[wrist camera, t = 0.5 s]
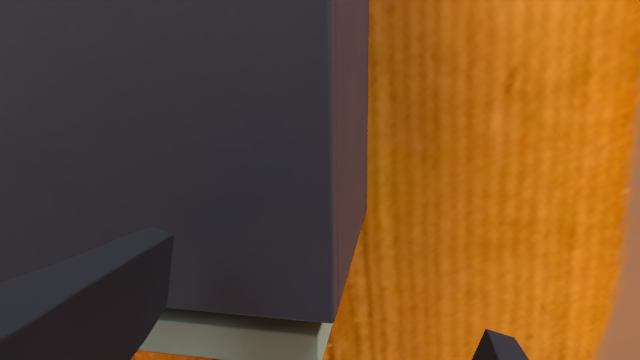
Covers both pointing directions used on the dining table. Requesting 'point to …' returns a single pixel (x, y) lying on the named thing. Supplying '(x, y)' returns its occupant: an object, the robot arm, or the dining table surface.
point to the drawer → (236, 336)
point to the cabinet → (190, 142)
